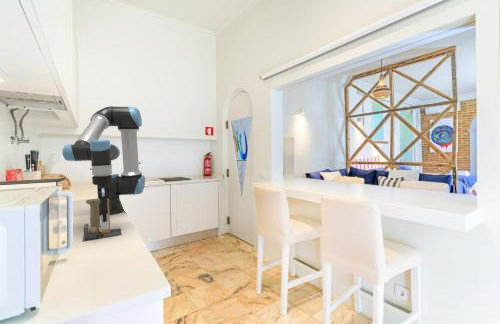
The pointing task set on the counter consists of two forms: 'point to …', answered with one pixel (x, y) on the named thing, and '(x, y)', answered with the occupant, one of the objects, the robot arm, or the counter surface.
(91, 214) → the handle
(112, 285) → the counter surface
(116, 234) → the slotted metal plate
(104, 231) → the lever
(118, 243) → the counter surface
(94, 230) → the round brown knob
